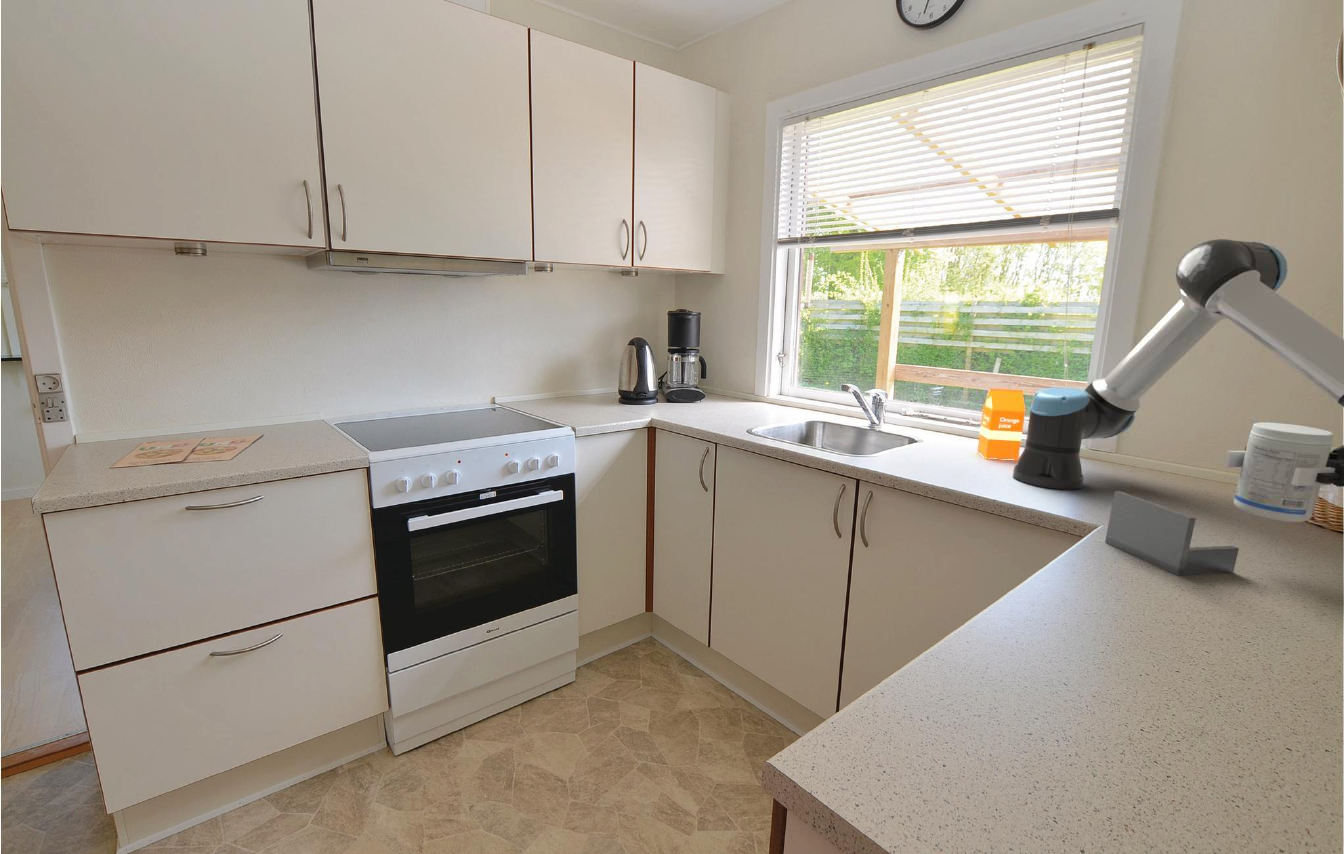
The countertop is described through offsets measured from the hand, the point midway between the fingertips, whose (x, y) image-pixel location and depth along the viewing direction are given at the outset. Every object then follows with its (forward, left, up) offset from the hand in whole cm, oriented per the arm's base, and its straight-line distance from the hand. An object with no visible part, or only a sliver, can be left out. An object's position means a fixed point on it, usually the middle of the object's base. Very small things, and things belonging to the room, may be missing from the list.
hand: (1259, 467), depth 98 cm
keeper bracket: (-6, -7, -18) cm, 20 cm away
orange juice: (-75, +11, -18) cm, 78 cm away
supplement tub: (0, +4, -8) cm, 9 cm away
